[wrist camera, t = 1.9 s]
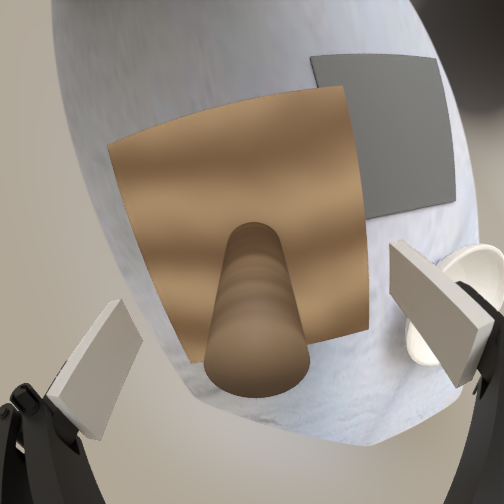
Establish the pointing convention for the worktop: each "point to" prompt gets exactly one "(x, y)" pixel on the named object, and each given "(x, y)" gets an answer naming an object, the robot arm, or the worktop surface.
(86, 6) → the worktop surface
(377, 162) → the mat
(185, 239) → the wooden block with knob
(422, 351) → the bowl
